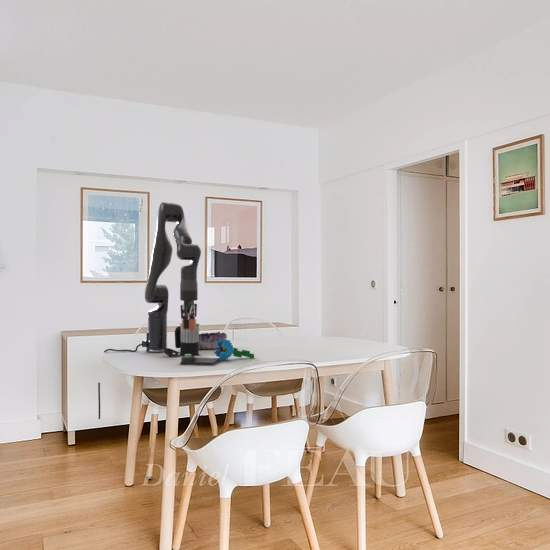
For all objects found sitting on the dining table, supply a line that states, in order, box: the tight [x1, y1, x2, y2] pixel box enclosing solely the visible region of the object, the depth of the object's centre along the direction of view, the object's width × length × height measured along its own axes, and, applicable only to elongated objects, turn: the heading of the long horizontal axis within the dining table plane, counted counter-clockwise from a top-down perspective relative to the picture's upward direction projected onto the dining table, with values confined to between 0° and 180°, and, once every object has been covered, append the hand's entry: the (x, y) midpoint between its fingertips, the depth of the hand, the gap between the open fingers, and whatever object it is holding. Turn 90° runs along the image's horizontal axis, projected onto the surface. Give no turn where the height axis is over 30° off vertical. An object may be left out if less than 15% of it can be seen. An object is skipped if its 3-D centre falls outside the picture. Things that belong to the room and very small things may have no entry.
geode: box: [198, 331, 228, 350], centre depth 278 cm, size 20×12×10 cm, turn 116°
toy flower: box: [213, 339, 255, 361], centre depth 242 cm, size 9×9×18 cm
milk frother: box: [163, 323, 200, 358], centre depth 254 cm, size 14×16×15 cm
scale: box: [180, 355, 221, 367], centre depth 232 cm, size 14×12×3 cm
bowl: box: [181, 318, 197, 330], centre depth 234 cm, size 6×6×4 cm
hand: (189, 327), depth 234 cm, fingers closed on bowl, 6 cm apart
